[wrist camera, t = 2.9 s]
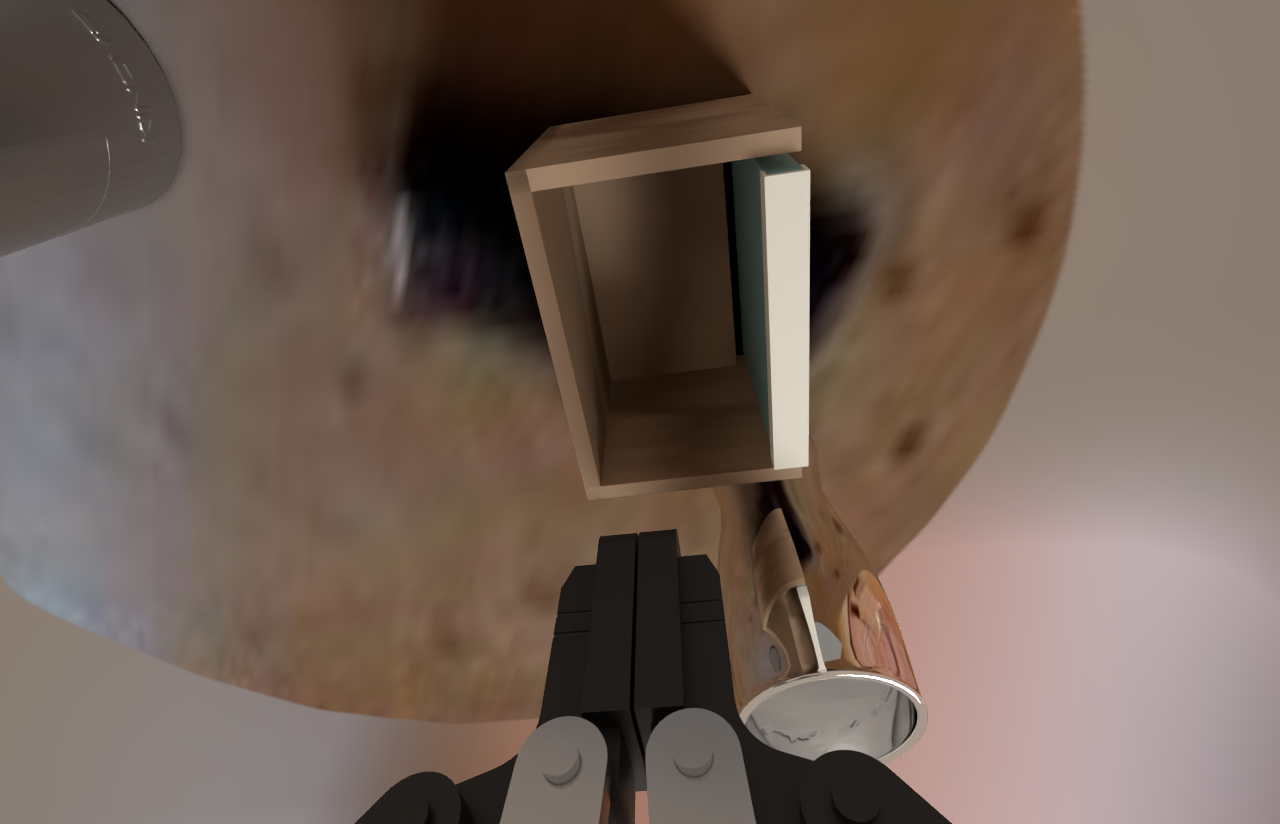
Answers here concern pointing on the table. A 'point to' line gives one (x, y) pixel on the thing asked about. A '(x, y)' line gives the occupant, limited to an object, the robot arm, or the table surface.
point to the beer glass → (811, 626)
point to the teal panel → (776, 296)
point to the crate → (647, 292)
